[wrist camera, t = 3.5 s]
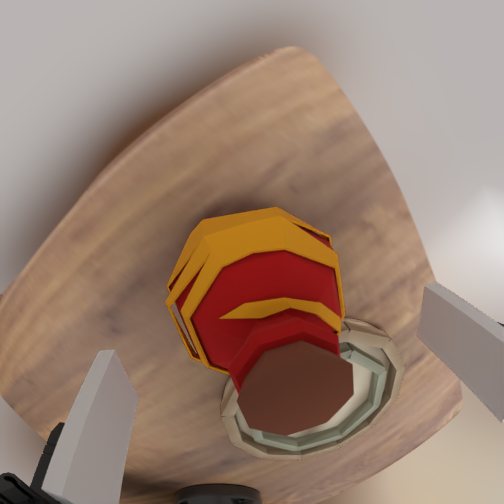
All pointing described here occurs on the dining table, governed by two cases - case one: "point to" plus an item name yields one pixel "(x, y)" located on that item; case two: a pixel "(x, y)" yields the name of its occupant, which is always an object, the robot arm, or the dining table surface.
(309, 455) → the tray
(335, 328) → the potion bottle
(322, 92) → the dining table surface
